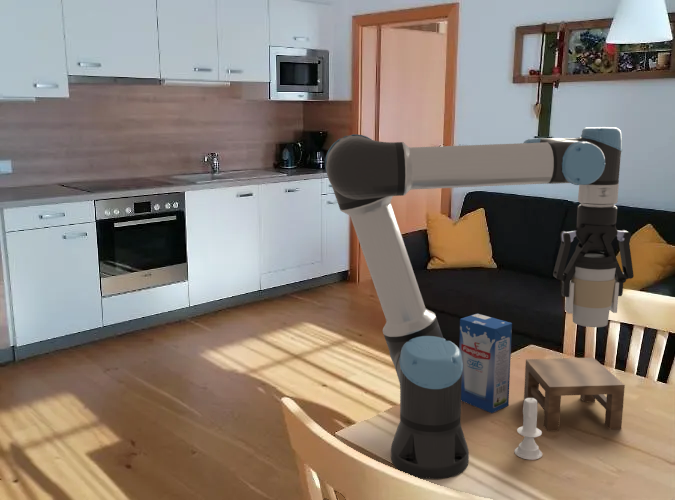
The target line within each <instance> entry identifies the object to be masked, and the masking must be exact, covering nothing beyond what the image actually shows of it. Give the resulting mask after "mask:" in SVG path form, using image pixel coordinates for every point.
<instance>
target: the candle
mask: <svg viewBox="0 0 675 500" xmlns="http://www.w3.org/2000/svg"><path fill="white" fill-rule="evenodd" d="M522 414H523V417H522V418H523V419H522V420H523V421H522V426H519V427H518V428H517V429H516V431H517V434H519V435H520V436H522V437H524V438H523V439H522V440H521V442H520V443H518V446H517V447H515V448H514V454H515V455H516V456H518V457H519V458H521V459H523V460H524V459H525V460H529V461H534V460H538V459H541V458H542V457H543V452H542V450H540V449H539V447H540V446H539V445H538V444H537V443H536V440H535V438H538V437H540V436H541V435H543V434H542V433H543V432H542V430H541V429H539V428H538V427H537V424H538V421H537V419H538V404H537V400H536V399H534V398H526V399H525V400H524V399H523V407H522Z"/></svg>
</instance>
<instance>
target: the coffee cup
mask: <svg viewBox="0 0 675 500" xmlns="http://www.w3.org/2000/svg"><path fill="white" fill-rule="evenodd" d="M572 261H573V260H572ZM617 261H618V260H617ZM617 261H614V260H613V257H612V256H606V255H605V254H604V252H603V251H602V250H599V249H595V250H588V252H587V253H586V254H585V255H584V256H581V257H580V259H579V261H576V262H575V263H576V264H575V271H576V272H575V274H574V276H573V278H572V279H571V281H572V282H573V283H574V299H573V313H572V322H573V324H575V325H578V326H582V327H587V328H588V327H589V328H603V327H606V326H608V322H609V317H610V306H611V303H612V296H613V290H614V283H615V270H616V267H617Z"/></svg>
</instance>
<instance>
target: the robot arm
mask: <svg viewBox="0 0 675 500" xmlns="http://www.w3.org/2000/svg"><path fill="white" fill-rule="evenodd" d="M622 137H623V136H622V131H621V130H620V128H618V127H614V126H613V127H611V126H610V127H609V126H607V127H606V126H602V127H601V126H597V127H596V126H595V127H584V128H583V129H582V131H581V134H580V137H572V138H571V137H570V138H569V137H565V138H562V137H554V138H552V137H550V138H549V137H548V138H547V137H546V138H545V137H543V138H542V137H538V138H528V139H525V140H524V141H523V142H521V143H499V144H498V143H496V144H494V143H493V144H491V143H490V144H468V145H467V144H466V145H464V144H463V145H447V146H446V145H444V146H441V145H440V146H418V147H417V146H415V147H410V146H408V145H407V144H406V143H405V142H403V141H398V142H397V141H396V142H394V141H393V142H392V141H391V142H387V141H380V140H374V139H373V138H370V137H368V136H367V135H364V134H355V133H354V134H353V133H352V134H350V135H345V136H343V137H340V138H338V139H337V140H335V142H333V143H332V144H331V146H330V147H329V149H328V151H327V153H326V155H325V159H324V160H325V161H324V168H325V172H326V176H327V178H328V181H329V183H330V185H331V188H332V190H333V194H334V196H335V200H336V201H337V205H338V208H339V211H340V212H342V213H344V214H346V215H348V216H349V217H350V220H351V223H352V225H353V227H354V228H353V229H354V231H355V234H356V237H357V239H358V242H359V245H360V248H361V251H362V254H363V256H364V261H365V264H366V266H367V269H368V271H369V274H370V277H371V279H372V283H373V285H374V288H375V291H376V295H377V298H378V300H379V303H380V306H381V309H382V312H383V314H384V317H385V321H386V322H385V324H384V326H383V328H382V333H383V334H382V335H383V337H384V339H385V342H386V345H387V348H388V349H387V350H388V351H389V355H390V358H391V361H392V363H393V366H394V369H395V372H396V376H397V379H398V382H399V389H400V391H399V392H400V393H399V394H400V395H399V398H400V400H399V402H400V405H399V408H400V409H399V413H400V414H399V422H398V426H397V428H396V431H395V434H394V437H393V440H392V443H391V447H390V460H391V463H392V464H393V465H394V466H395V468H397V470H399V471H400V472H402V471H404V472H406V473H409V474H411V475H410V476H412V475H414V476H413V477H415V476H417V477H416V478H420V479H426V480H427V479H428V480H438V479H446V478H450V477H455V476H457V475H460V473H462V472H464V471H465V470H466V469H467V467H468V466H469V461H470V459H469V457H470V454H469V453H470V452H469V451H470V450H469V446H468V444H467V441H466V438H465V434H464V430H463V428H462V424H461V417H462V416H461V415H462V412H461V411H462V401H461V384H462V371H463V362H462V356H461V352H460V350H459V347H458V345H456V344H455V342H452V341H451V340H446V338H444V337H443V333H442V330H441V328H440V325H439V322H438V319H437V316H436V313H435V312H433V311H432V310H429V309H428V308H426V306H425V302H424V299H423V296H422V293H421V291H420V288H419V284H418V281H417V279H416V275H415V273H414V272H415V271H414V270H413V266H412V263H411V260H410V257H409V254H408V251H407V248H406V246H405V245H406V244H405V242H404V239H403V235H402V233H401V231H400V230H401V229H400V226H399V224H398V221H397V219H396V218H397V217H396V215H395V212H394V209H393V206H392V200H393V198H394V197H399V196H406V195H407V194H408V193H409V191H411V190H432V189H433V190H434V189H452V188H453V189H455V188H456V189H457V188H476V187H477V188H479V187H480V188H481V187H499V186H500V187H502V186H522V185H524V186H525V185H542V184H543V185H544V184H545V185H546V184H547V185H548V184H551V185H554V184H555V185H556V184H572V185H573V186H578V196H577V201H578V203H580V204H579V205H577V212H576V213H577V215H576V227H575V229H574V230H571V231H565V230H563V231H561V232H560V234H559V235H560V241H561V242H560V245H559V250H558V254H557V256H556V261H555V264H554V265H555V266H554V267H553V272H552V276H553V277H554V278H556V279H557V280H559V281H561V296H562V297H564V298H565V299H564V300H565V301H564V311H566V312H567V314H573V299H574V283H573V282H572V281H571V279H572V278H573V276H574V274H575V272H576V271H575V264H576V263H575V262H576V261H579V259H580V257H581V256H584V255H585V254H586V253H587V252H588V250H599V251H602V252H604V254H605V255H606V256H612V257H613V260H614V261H617V267H616V270H615V283H614V290H613V296H612V303H611V306H610V310H609V312H612V313H613V314H617V313H618V305H619V304H618V303H619V297H622V295H623V291H624V283H626V281H627V280H629V279H630V280H632V279H633V278H634V268H633V267H634V266H633V261H632V254H631V253H632V252H631V247H630V242H631V237H632V233H631V232H629V231H627V230H625V229H622V230H618V229H617V227H616V225H617V216H618V207H617V206H616V205H615V204H617V203H618V202H619V201H618V200H619V186H620V185H619V183H620V169H621V161H622V159H621V158H622V152H623V149H622V148H623V146H622V144H623V143H622V142H623V140H622V139H623V138H622ZM574 238H576V239H577V240H578V243H577V245H576V246H575V250H574V252H573V254H572V256H571V257H570V260H569V262H568V264H567V260H568V257H569V255H570V254H569V253H570V251H571V245H572V244H571V243H572V242H573V241H574ZM615 238H616V239H617V241H618V248H619V254H620V262H621V266H620V264H619V262H618V259H617V257H616V254H615V250H614V248H613V245H612V242H613V241H614V240H615ZM572 260H573V261H572ZM404 472H403V473H404ZM406 473H405V474H406ZM409 474H408V475H409Z"/></svg>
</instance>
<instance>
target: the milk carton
mask: <svg viewBox="0 0 675 500" xmlns="http://www.w3.org/2000/svg"><path fill="white" fill-rule="evenodd" d="M512 329H513V323H512V322H510V321H506V320H502V319H498V318H495V317H491V316H488V315H484V314H481V313H475V314H471V315H469V316H465V317H462V318H460V319H459V347H458V348H459V350H460V352H461V356H462V362H463V371H462V384H461V402H463V403H466V404H468V405H471V406H472V407H475V408H477V409H481V410H482V411H486V412H488V413H490V414H493V413H496V412H498V411H500V410H501V409H502V410H503V409H504V408H506V407H508V406H509V403H510V402H509V401H510V400H509V399H510V383H511V382H510V380H511V375H510V374H511V356H512V352H511V351H512V335H513V334H512V332H513V331H512Z"/></svg>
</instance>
